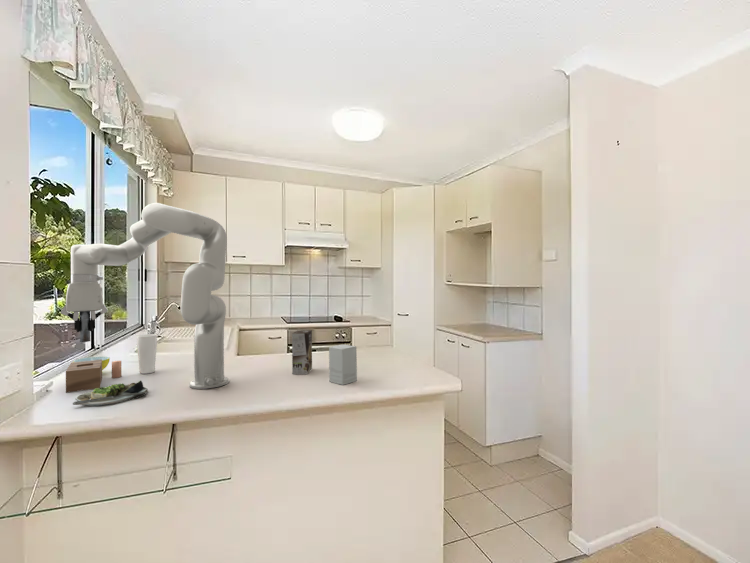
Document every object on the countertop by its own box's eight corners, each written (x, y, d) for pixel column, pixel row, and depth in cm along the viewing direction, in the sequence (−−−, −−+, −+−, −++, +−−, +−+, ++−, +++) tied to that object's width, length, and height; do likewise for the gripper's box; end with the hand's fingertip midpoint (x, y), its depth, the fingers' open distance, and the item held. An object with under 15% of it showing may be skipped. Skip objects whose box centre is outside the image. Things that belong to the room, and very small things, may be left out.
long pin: (90, 341, 127) (90, 307, 127) (79, 342, 126) (79, 308, 126) (90, 340, 130) (90, 307, 130) (80, 341, 128) (79, 307, 128)
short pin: (121, 377, 137) (121, 361, 137) (111, 378, 136) (111, 362, 136) (121, 375, 140) (121, 360, 140) (111, 376, 138) (111, 361, 138)
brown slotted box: (100, 387, 124) (99, 367, 124) (65, 392, 118) (65, 371, 118) (102, 377, 137) (102, 359, 137) (71, 381, 132) (71, 362, 132)
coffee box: (308, 374, 140) (308, 333, 140) (291, 374, 140) (291, 333, 140) (312, 368, 149) (312, 329, 149) (297, 368, 149) (296, 329, 149)
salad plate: (86, 414, 99) (86, 398, 99) (57, 404, 108) (57, 389, 108) (157, 395, 116) (157, 381, 116) (127, 387, 125) (127, 374, 125)
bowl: (116, 371, 147) (116, 356, 147) (95, 378, 136) (95, 362, 136) (88, 371, 147) (88, 356, 147) (65, 379, 135) (64, 362, 135)
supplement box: (357, 381, 130) (357, 346, 130) (342, 385, 125) (342, 349, 125) (343, 377, 135) (343, 343, 135) (328, 381, 130) (328, 346, 130)
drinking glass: (161, 370, 147) (160, 334, 147) (149, 374, 141) (148, 336, 141) (145, 370, 148) (145, 333, 148) (133, 374, 141) (132, 336, 141)
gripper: (113, 279, 135) (113, 328, 135) (55, 279, 126) (56, 332, 126) (112, 279, 129) (113, 330, 129) (52, 279, 120) (52, 334, 120)
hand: (85, 330), depth 128 cm, fingers closed on long pin, 3 cm apart
